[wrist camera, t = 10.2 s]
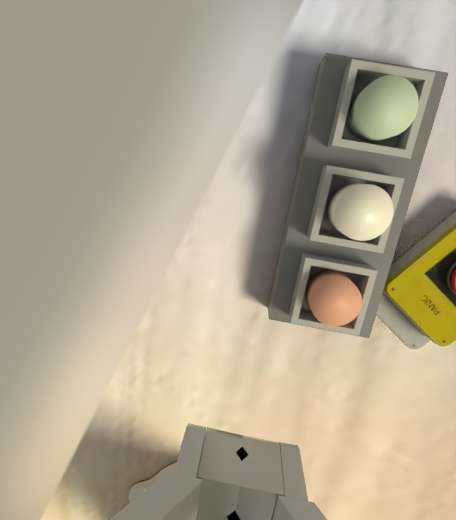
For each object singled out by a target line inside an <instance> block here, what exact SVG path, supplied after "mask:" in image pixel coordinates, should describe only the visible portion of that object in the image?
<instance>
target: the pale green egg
mask: <svg viewBox="0 0 456 520" xmlns="http://www.w3.org/2000/svg"><path fill="white" fill-rule="evenodd" d="M418 105H419V99H418V94H417V91H416V89H415V87H414V86H413V84H412V83H411V82H410V81H409V80H407V79H406V78H404V77H401V76H398V75H386V76H382V77H380V78H378V79H376V80H374V81H373V82H372V83H370V84H369V85H368V86H367V87H366V88H364V89H363V90H362V91H361V92H360V93H358V94H357V95H356V96H355V98H354V99H353V101H352V102H351V104H350V107H349V110H348V123H349V126H350V129H351V131H352V132H353V133H354V134H355V135H356V136H357V137H358V138H360V139H362V140H364V141H368V142H375V141H380V140H383V139H386V138H390V137H393V136H396V135H398V134H400V133H402V132H403V131H405V130H406V129H407V128H408V127H409V126H410V125H411V123H412V122H413V120H414V119H415V117H416V114H417V111H418Z"/></svg>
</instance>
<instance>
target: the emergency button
mask: <svg viewBox="0 0 456 520" xmlns="http://www.w3.org/2000/svg"><path fill="white" fill-rule="evenodd" d="M376 315H377V316H378V317H379V318H380V319H381V320H382V321H383V322H384V323H385V324H386V325H387V326H388V327H389V328H390V329H391V330H392V331H393V332H394V333H395V334H396V335H397V336H398V337H399V338H400V339H401V340H402V341H403V342H404V343H405V344H406V345H407V346H408V347H409V348H411V349H418V348H420V347H422V346H423V345H425V344H426V343H427V342H429V341H430V340H432V341H433V342H434V343H436V344H438V345H439V346H447V345H449V344H451V343H452V342H454V341H455V340H456V209H455V210H454V211H453V212H451V213H450V214H449V215H448V216H447V217H446V218H444V219H443V220H442V221H441V222H440V223H438V224H437V225H436V226H435V227H434V228H433V229H431V230H430V231H429V232H428V233H427V234H425V235H424V236H423V237H422V238H421V239H419V240H418V241H417V242H416V243H415V244H414V245H412V246H411V247H410V248H409V249H408V250H406V251H405V252H404V253H403V254H402V255H400V256H399V257H398V258H397V259H396V260H395V261H393V262H392V263H391V266H390V270H389V273H388V276H387V280H386V283H385V286H384V290H383V293H382V296H381V300H380V303H379V306H378V310H377V313H376Z"/></svg>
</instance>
